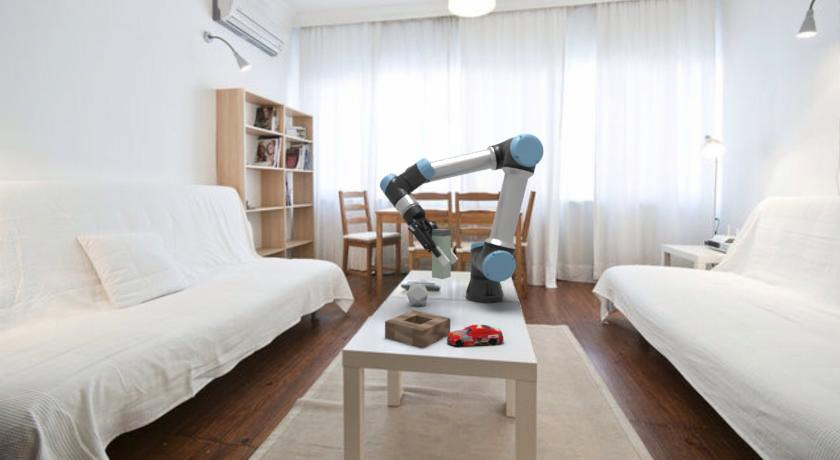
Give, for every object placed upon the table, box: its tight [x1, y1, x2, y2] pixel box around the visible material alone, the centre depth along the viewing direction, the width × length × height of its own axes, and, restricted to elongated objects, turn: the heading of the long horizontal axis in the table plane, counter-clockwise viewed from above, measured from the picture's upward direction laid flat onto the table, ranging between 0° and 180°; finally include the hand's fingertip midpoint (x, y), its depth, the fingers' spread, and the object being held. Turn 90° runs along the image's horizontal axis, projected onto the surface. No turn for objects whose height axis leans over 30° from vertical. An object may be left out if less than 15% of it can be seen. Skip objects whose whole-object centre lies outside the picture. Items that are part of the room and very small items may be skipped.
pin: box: [431, 228, 452, 280], centre depth 140 cm, size 4×4×16 cm
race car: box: [446, 324, 504, 348], centre depth 121 cm, size 16×7×5 cm, turn 97°
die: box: [406, 283, 429, 307], centre depth 161 cm, size 8×9×10 cm
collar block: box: [384, 310, 451, 349], centre depth 127 cm, size 14×14×5 cm
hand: (450, 262), depth 138 cm, fingers closed on pin, 4 cm apart
